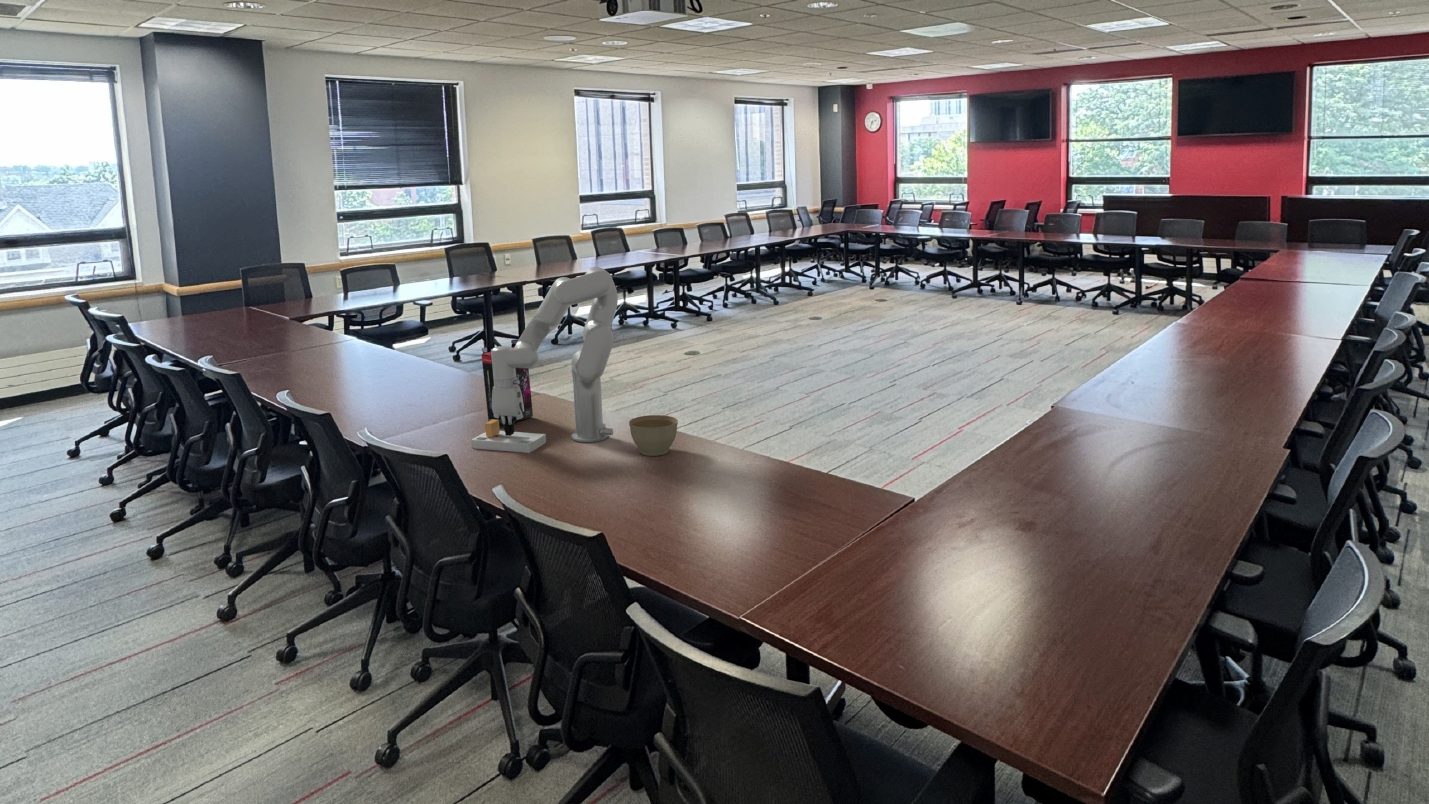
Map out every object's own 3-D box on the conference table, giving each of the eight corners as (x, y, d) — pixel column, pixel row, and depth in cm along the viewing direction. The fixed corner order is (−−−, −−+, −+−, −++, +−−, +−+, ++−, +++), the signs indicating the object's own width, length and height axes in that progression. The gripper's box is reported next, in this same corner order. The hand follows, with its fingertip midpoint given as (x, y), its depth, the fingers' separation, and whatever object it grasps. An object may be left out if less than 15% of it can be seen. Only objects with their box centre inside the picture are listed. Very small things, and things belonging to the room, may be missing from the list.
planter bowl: (688, 451, 307) (687, 419, 304) (654, 463, 295) (653, 430, 293) (654, 441, 317) (653, 411, 315) (620, 453, 306) (618, 421, 303)
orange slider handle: (500, 439, 319) (499, 419, 318) (493, 443, 315) (492, 423, 313) (493, 438, 320) (491, 419, 319) (485, 442, 316) (484, 423, 314)
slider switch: (546, 442, 319) (545, 433, 318) (529, 452, 308) (529, 443, 307) (489, 437, 325) (489, 429, 324) (471, 448, 314) (471, 439, 313)
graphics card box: (498, 428, 337) (492, 355, 330) (486, 425, 341) (480, 353, 334) (533, 417, 350) (528, 347, 343) (521, 414, 354) (516, 345, 347)
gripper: (530, 381, 312) (534, 432, 317) (491, 379, 316) (496, 430, 321) (519, 386, 305) (524, 439, 310) (480, 384, 309) (485, 436, 314)
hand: (509, 434), depth 315 cm, fingers closed
